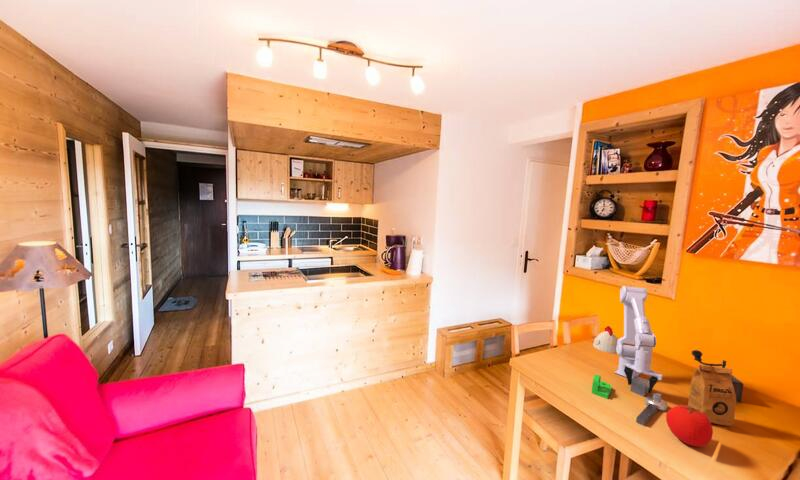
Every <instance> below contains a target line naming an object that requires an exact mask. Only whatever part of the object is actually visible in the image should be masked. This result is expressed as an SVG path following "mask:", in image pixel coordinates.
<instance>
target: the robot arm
mask: <svg viewBox="0 0 800 480" xmlns="http://www.w3.org/2000/svg"><path fill="white" fill-rule="evenodd" d="M647 299H648V290H647V289H646V288H645V287H636V286H626V285H623V286H622V287H620V290H619V302H620V303H622V304H623V336H622V337H619V338H617V339H618V341H617V346H616V351H617V354H616V355H618V356H619V359H618V369H617V370H616V371H614V374H616V375H619V376H623V377H625V378H626V379H627V385H628V386H631V381H632V378H633V377H635V376H638V377H639V375H640V374H643V375H646V376H648V377H649V378H648V380H649V388H648V393H649V394H651V393H652V391H653V389H654V387H655V385H656V384H657V382H658V381H662V380H663V374H660V373H658V372H656V371H653V370H651V365H652V364H651V363H652V357H653V350H654V349H653V348H655V347H656V346H657V337H656V335H655V334H654V332H653V331H652V327H651V325H650V320H649V318H647V317H646V313H645V311H646V310H645V302H646V300H647ZM648 393H647V394H648Z"/></svg>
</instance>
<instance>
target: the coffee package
mask: <svg viewBox="0 0 800 480" xmlns="http://www.w3.org/2000/svg"><path fill="white" fill-rule="evenodd" d="M730 374H732V375H733V369H732V368H726V367H725V368H722V366H709V365H704V364H699V365H698V366H697V367H696V369H695V371H694V372H693V374H692V378H691V382H690V387H689V393H688V402H687V406H688V405H689V406H690V407H693V408H695V409H697V410H699V411H701V412H703V413H704V414H705V415H706V416H707V417H708V419H709V421H710V423H711V424H716V425H719V426H726V427H732V426H734V423H735V413H736V407H737V402H736V394H735V390H734V386H733V384H732V379H731V376H730Z"/></svg>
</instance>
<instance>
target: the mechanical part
mask: <svg viewBox="0 0 800 480" xmlns="http://www.w3.org/2000/svg"><path fill="white" fill-rule="evenodd" d="M591 387H592V388H591V394H593V395H595V396H597V397H601V398H604V399H607V400H608V398H609V397H610V394H611V392H612V388H613V387H612V384H610V383H608V382H605V381H603V380H601V375H599V374H596V373H594V375H593V379H592V386H591Z"/></svg>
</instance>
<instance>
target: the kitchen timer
mask: <svg viewBox="0 0 800 480" xmlns="http://www.w3.org/2000/svg"><path fill="white" fill-rule="evenodd" d="M618 339H619V338H617V336H616V335H615V334H614V331H613V328H611V326H609V325H607V326H605V327H604V331H602V332H600V333H598V335H597V336H596V337H594V340H593V344H592V346H593V347H594V349H596V350H599V351H601V352H604V353H608V354H614V355H615V354H616V355H618V354H617V351H616V346H617V341H618Z"/></svg>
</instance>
